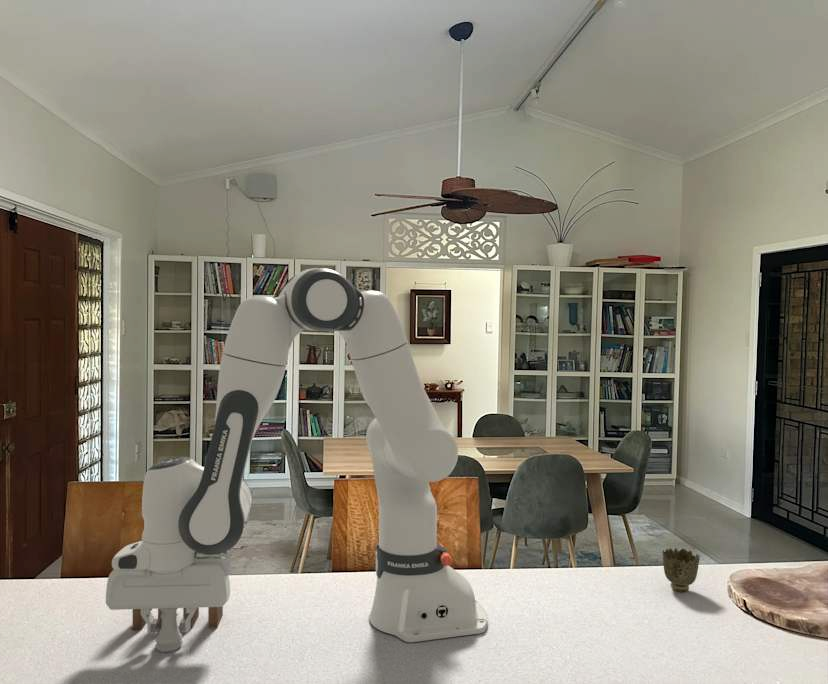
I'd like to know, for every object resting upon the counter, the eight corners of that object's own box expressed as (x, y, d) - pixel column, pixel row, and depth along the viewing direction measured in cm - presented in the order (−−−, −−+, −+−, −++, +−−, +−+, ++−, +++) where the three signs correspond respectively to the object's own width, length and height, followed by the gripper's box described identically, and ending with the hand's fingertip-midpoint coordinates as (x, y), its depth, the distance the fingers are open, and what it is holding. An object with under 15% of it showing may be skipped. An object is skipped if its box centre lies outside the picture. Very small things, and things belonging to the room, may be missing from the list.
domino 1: (150, 617, 122) (150, 565, 122) (141, 629, 117) (141, 575, 117) (141, 617, 122) (141, 565, 122) (132, 630, 117) (132, 576, 117)
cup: (654, 585, 141) (655, 549, 141) (681, 581, 143) (682, 546, 143) (677, 599, 134) (678, 561, 134) (706, 595, 136) (707, 558, 136)
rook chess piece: (173, 654, 109) (173, 608, 109) (149, 651, 110) (149, 605, 110) (187, 641, 113) (187, 597, 113) (164, 639, 114) (165, 594, 114)
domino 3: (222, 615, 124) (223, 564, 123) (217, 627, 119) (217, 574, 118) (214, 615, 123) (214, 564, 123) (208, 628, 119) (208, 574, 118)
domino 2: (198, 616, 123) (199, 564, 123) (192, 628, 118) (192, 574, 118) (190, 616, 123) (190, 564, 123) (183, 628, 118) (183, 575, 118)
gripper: (234, 544, 115) (233, 621, 116) (115, 546, 113) (115, 624, 114) (227, 557, 109) (226, 638, 109) (101, 560, 107) (101, 641, 107)
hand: (169, 631), depth 111 cm, fingers open, 4 cm apart
